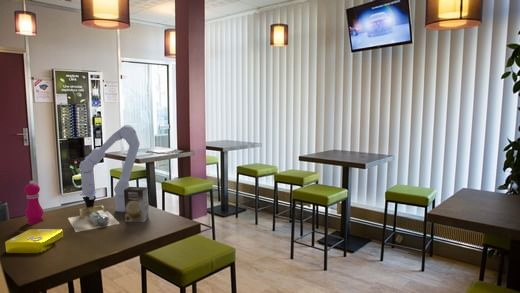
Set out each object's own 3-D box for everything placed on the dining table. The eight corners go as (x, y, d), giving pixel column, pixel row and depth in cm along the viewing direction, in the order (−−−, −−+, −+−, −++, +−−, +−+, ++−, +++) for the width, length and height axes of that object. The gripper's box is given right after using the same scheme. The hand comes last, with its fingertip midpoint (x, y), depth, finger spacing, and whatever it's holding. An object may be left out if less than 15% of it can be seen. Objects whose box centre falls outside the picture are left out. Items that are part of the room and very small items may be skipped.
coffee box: (124, 224, 167) (122, 189, 165) (131, 219, 173) (129, 186, 171) (144, 224, 166) (142, 189, 164) (149, 220, 172) (147, 186, 170)
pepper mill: (35, 225, 167) (31, 182, 165) (22, 224, 169) (18, 182, 166) (47, 220, 174) (44, 179, 172) (34, 219, 176) (31, 179, 173)
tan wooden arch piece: (102, 211, 182) (102, 205, 181) (104, 214, 178) (104, 207, 177) (80, 215, 176) (79, 208, 176) (81, 218, 172) (81, 211, 172)
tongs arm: (93, 216, 174) (93, 209, 173) (100, 224, 163) (99, 215, 163) (87, 218, 172) (87, 210, 172) (94, 225, 162) (93, 217, 161)
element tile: (65, 239, 151) (64, 227, 150) (42, 253, 136) (41, 241, 135) (30, 238, 152) (29, 227, 151) (3, 253, 137) (2, 241, 136)
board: (108, 213, 184) (107, 211, 184) (120, 226, 164) (120, 223, 164) (68, 220, 174) (67, 217, 174) (75, 234, 154) (75, 232, 154)
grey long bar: (102, 215, 176) (102, 208, 176) (110, 225, 162) (110, 217, 162) (93, 217, 174) (92, 210, 173) (100, 227, 160) (100, 219, 159)
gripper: (76, 182, 184) (79, 208, 185) (81, 187, 172) (83, 215, 174) (92, 180, 188) (94, 206, 189) (97, 185, 176) (99, 213, 178)
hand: (90, 210), depth 182 cm, fingers closed
